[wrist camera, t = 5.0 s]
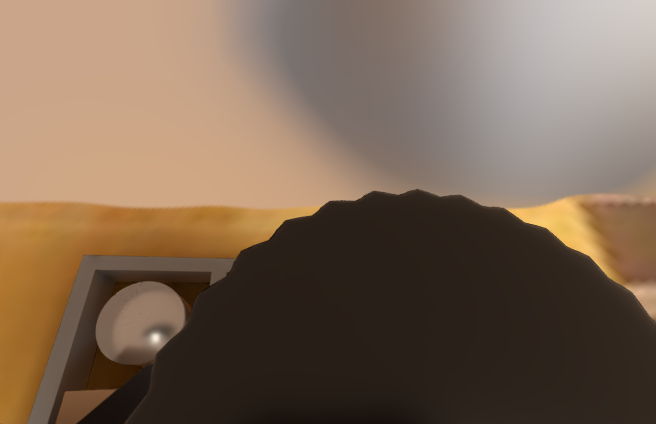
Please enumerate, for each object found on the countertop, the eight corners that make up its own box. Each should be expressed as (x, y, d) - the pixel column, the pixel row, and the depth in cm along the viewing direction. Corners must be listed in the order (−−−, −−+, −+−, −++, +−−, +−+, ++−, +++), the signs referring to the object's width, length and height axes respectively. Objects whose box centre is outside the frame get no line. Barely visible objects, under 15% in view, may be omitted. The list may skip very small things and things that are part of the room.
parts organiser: (390, 498, 17) (407, 516, 15) (26, 531, 14) (-19, 559, 12) (370, 273, 22) (381, 262, 20) (104, 268, 20) (83, 255, 18)
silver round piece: (189, 365, 18) (175, 363, 16) (112, 367, 18) (84, 365, 15) (200, 294, 20) (189, 281, 17) (130, 294, 19) (108, 280, 17)
